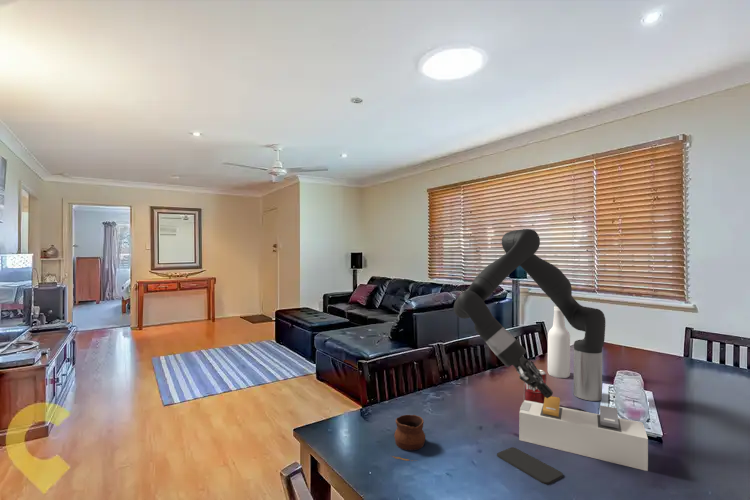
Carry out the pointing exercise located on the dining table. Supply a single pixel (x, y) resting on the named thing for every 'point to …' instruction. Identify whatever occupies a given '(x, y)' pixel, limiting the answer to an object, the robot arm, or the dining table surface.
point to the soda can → (534, 391)
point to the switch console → (585, 435)
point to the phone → (530, 465)
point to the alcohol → (558, 347)
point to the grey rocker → (609, 416)
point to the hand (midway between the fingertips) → (550, 395)
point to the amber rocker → (551, 406)
